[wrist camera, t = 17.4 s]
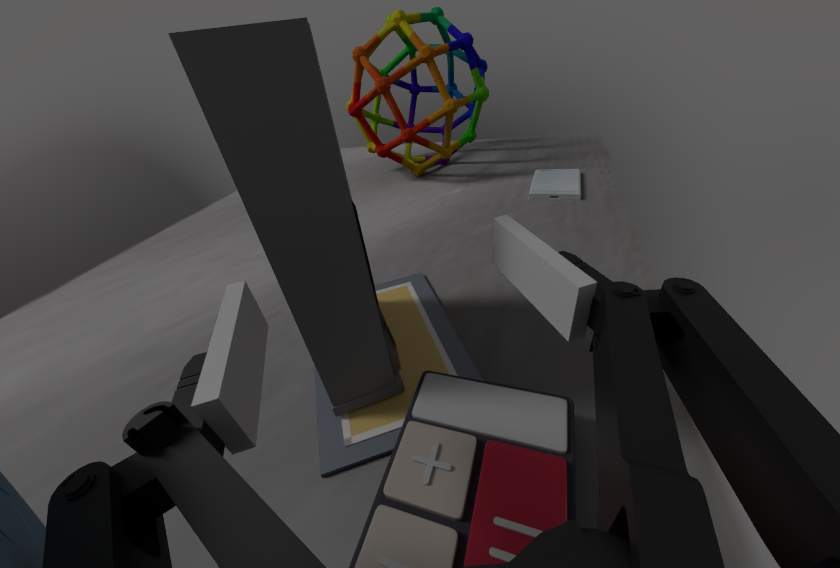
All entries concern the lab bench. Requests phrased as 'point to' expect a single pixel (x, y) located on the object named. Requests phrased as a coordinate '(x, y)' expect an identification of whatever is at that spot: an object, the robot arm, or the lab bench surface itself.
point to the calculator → (471, 476)
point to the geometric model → (418, 89)
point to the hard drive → (556, 184)
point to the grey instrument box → (296, 195)
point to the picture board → (418, 351)
